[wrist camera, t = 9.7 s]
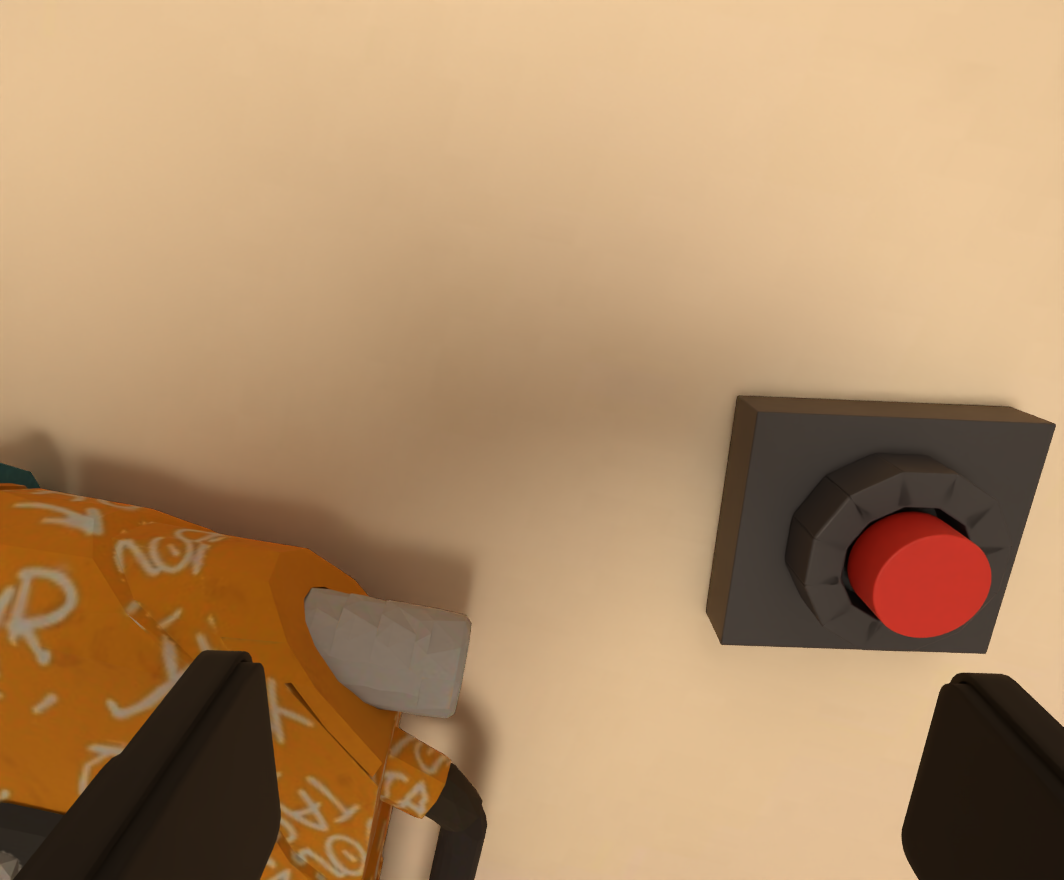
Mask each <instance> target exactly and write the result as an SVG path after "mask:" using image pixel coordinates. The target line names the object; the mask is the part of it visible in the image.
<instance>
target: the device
mask: <svg viewBox="0 0 1064 880" xmlns="http://www.w3.org/2000/svg"><path fill="white" fill-rule="evenodd" d="M471 624H472V623H471V622H470V620H469V619H468V617H467V616H466V615H464V614H459V613H455V612H451V611H446V610H442V609H438V608H432V607H426V606H421V605H415V604H410V603H404V602H398V601H392V600H387V601H385V600H381V599H377V598H373V597H369V596H368V595H367V594H366V593H365V591H364V590H363V589H362V588H361V587H360V586H359V584H358V583H357V582H356V581H355V580H354V579H353V578H351V577H350V576H348V575H347V574H345V573H344V572H342V571H341V570H339V569H338V568H336V567H335V566H333V565H332V564H330V563H329V562H327V561H326V560H324V559H323V558H321V557H320V556H318V555H317V554H315V553H314V552H312V551H311V550H309V549H308V548H302V547H296V546H290V545H284V544H277V543H271V542H265V541H259V540H253V539H247V538H241V537H235V536H230V535H224V534H218V533H216V532H214V531H213V530H210V529H207V528H205V527H202V526H199V525H196V524H193V523H190V522H188V521H185V520H182V519H179V518H176V517H173V516H171V515H168V514H165V513H162V512H159V511H157V510H154V509H151V508H145V507H140V506H134V505H128V504H123V503H117V502H112V501H106V500H101V499H95V498H90V497H84V496H79V495H73V494H68V493H62V492H57V491H51V490H46V489H41V488H40V486H39V484H38V483H37V481H36V479H35V478H34V476H33V474H32V473H31V472H30V471H26V470H23V469H19V468H16V467H13V466H9V465H6V464H3V463H0V880H13V879H14V877H15V876H16V875H17V874H18V872H19V871H20V870H21V869H22V867H23V866H24V865H25V864H26V862H27V861H28V860H29V859H30V857H31V856H32V855H33V854H34V852H35V851H36V850H37V849H38V847H39V846H40V845H41V844H42V842H43V841H44V840H45V839H46V837H47V836H48V835H49V834H50V832H51V831H52V830H53V829H54V827H55V826H56V825H57V824H58V822H59V821H60V820H61V819H62V817H63V816H64V815H65V814H66V812H67V811H68V810H69V809H70V807H71V806H72V805H73V804H74V802H75V801H76V800H77V799H78V797H79V796H80V795H81V794H82V792H83V791H84V790H85V789H86V787H87V786H88V785H89V784H90V782H91V781H92V780H93V779H94V777H95V776H96V775H97V774H98V772H99V771H100V770H101V769H102V768H103V766H104V765H105V764H106V763H107V762H108V761H109V760H110V759H111V758H113V757H115V756H116V755H118V754H120V753H121V752H122V751H123V750H124V748H125V747H126V746H127V745H128V743H129V742H130V741H131V739H132V738H133V737H134V736H135V734H136V733H137V732H138V731H139V729H140V728H141V727H142V725H143V724H144V723H145V722H146V720H147V719H148V718H149V717H150V715H151V714H152V713H153V711H154V710H155V709H156V708H157V706H158V705H159V704H160V703H161V701H162V700H163V699H164V697H165V696H166V695H167V694H168V692H169V691H170V690H171V689H172V687H173V686H174V685H175V683H176V682H177V681H178V680H179V678H180V677H181V676H182V675H183V673H184V672H185V671H186V669H187V668H188V667H189V666H190V664H191V663H192V662H193V661H194V659H195V658H196V657H197V656H198V655H199V654H200V653H201V652H202V651H205V650H224V651H246V652H248V653H249V654H250V655H251V657H252V661H253V662H254V663H261V664H262V665H263V667H264V672H265V680H266V688H267V697H268V706H269V714H270V723H271V731H272V740H273V748H274V757H275V765H276V774H277V782H278V791H279V799H280V808H281V821H280V828H279V833H278V837H277V840H276V843H275V845H274V848H273V850H272V852H271V855H270V857H269V860H268V862H267V864H266V867H265V869H264V871H263V874H262V876H261V878H260V880H379V879H380V874H381V869H382V863H383V857H382V851H383V847H384V843H385V838H386V834H387V830H388V826H389V822H390V817H391V813H392V809H393V806H394V807H396V808H398V809H400V810H402V811H404V812H406V813H408V814H410V815H412V816H414V817H417V818H421V819H422V818H423V817H424V816H427V817H429V818H430V819H432V820H434V821H435V822H436V823H437V824H439V825H440V826H441V828H440V832H439V837H438V841H437V846H436V851H435V855H434V860H433V864H432V869H431V874H430V878H429V880H474V878H475V874H476V870H477V866H478V862H479V858H480V854H481V850H482V846H483V842H484V838H485V833H486V829H487V821H486V815H485V812H484V810H483V807H482V799H481V798H480V796H479V794H478V792H477V791H476V789H475V788H474V787H473V786H472V784H471V783H470V782H469V781H468V780H467V778H466V777H465V776H464V775H463V774H462V773H461V771H460V770H459V769H458V768H457V767H456V765H454V764H453V763H451V759H449V758H448V757H447V756H445V755H444V754H443V753H441V752H439V751H437V750H435V749H434V748H432V747H430V746H428V745H426V744H425V743H423V742H421V741H419V740H418V739H416V738H414V737H413V736H411V735H409V734H408V733H406V732H405V731H403V730H401V729H400V728H399V724H400V718H401V713H402V712H405V713H409V714H413V715H420V716H430V717H440V718H448V717H450V716H451V715H453V714H455V710H456V706H457V702H458V697H459V693H460V689H461V684H462V679H463V673H464V668H465V662H466V657H467V651H468V646H469V640H470V632H471Z"/></svg>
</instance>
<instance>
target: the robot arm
mask: <svg viewBox="0 0 1064 880" xmlns="http://www.w3.org/2000/svg"><path fill="white" fill-rule="evenodd" d="M280 821H281V808H280V799H279V791H278V782H277V774H276V765H275V757H274V748H273V740H272V731H271V723H270V714H269V706H268V697H267V688H266V680H265V672H264V667H263V665H262V664H261V663H254V662H253V661H252V657H251V655H250V654H249V653H248V652H246V651H224V650H205V651H202V652H201V653H200V654H199V655H198V656H197V657H196V658H195V659H194V661H193V662H192V663H191V664H190V666H189V667H188V668H187V669H186V671H185V672H184V673H183V675H182V676H181V677H180V678H179V680H178V681H177V682H176V683H175V685H174V686H173V687H172V689H171V690H170V691H169V692H168V694H167V695H166V696H165V697H164V699H163V700H162V701H161V703H160V704H159V705H158V706H157V708H156V709H155V710H154V711H153V713H152V714H151V715H150V717H149V718H148V719H147V720H146V722H145V723H144V724H143V725H142V727H141V728H140V729H139V731H138V732H137V733H136V734H135V736H134V737H133V738H132V739H131V741H130V742H129V743H128V745H127V746H126V747H125V748H124V750H123V751H122V752H121V753H120V754H118V755H116V756H115V757H113V758H111V759H110V760H109V761H108V762H107V763H106V764H105V765H104V766H103V768H102V769H101V770H100V771H99V772H98V774H97V775H96V776H95V777H94V779H93V780H92V781H91V782H90V784H89V785H88V786H87V787H86V789H85V790H84V791H83V792H82V794H81V795H80V796H79V797H78V799H77V800H76V801H75V802H74V804H73V805H72V806H71V807H70V809H69V810H68V811H67V812H66V814H65V815H64V816H63V817H62V819H61V820H60V821H59V822H58V824H57V825H56V826H55V827H54V829H53V830H52V831H51V832H50V834H49V835H48V836H47V837H46V839H45V840H44V841H43V842H42V844H41V845H40V846H39V847H38V849H37V850H36V851H35V852H34V854H33V855H32V856H31V857H30V859H29V860H28V861H27V862H26V864H25V865H24V866H23V867H22V869H21V870H20V871H19V872H18V874H17V875H16V876H15V877H14V879H13V880H260V878H261V876H262V874H263V871H264V869H265V867H266V864H267V862H268V860H269V857H270V855H271V852H272V850H273V848H274V845H275V843H276V840H277V837H278V833H279V828H280ZM901 835H902V845H903V849H904V852H905V855H906V858H907V860H908V862H909V864H910V866H911V867H912V869H913V871H914V873H915V874H916V876H917V878H918V879H919V880H1064V727H1063V726H1062V725H1061V724H1060V723H1059V722H1058V721H1057V720H1055V719H1054V718H1053V717H1052V716H1051V715H1050V714H1049V713H1048V712H1047V711H1046V710H1045V709H1044V708H1043V707H1042V706H1041V705H1040V704H1039V703H1038V702H1037V701H1036V700H1035V699H1034V698H1032V697H1031V696H1030V695H1029V694H1028V693H1027V692H1026V691H1025V690H1024V689H1023V688H1022V687H1021V686H1020V685H1019V684H1018V683H1017V682H1016V681H1015V680H1013V679H1012V678H1010V677H1009V676H1007V675H1003V674H987V673H959V674H956V675H955V676H954V677H953V678H952V680H951V682H950V683H949V684H945V685H944V686H943V687H942V688H941V690H940V692H939V696H938V699H937V703H936V707H935V710H934V714H933V718H932V721H931V725H930V729H929V732H928V736H927V740H926V743H925V747H924V751H923V754H922V758H921V762H920V765H919V769H918V773H917V776H916V780H915V784H914V787H913V791H912V795H911V798H910V802H909V806H908V809H907V813H906V816H905V820H904V824H903V827H902V834H901Z"/></svg>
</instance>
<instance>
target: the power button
mask: <svg viewBox="0 0 1064 880" xmlns="http://www.w3.org/2000/svg"><path fill="white" fill-rule="evenodd" d="M847 572H848V578H849V581H850V584H851V586H852V588H853V590H854V591H855V593H856V594H857V595H858V596H859V597H860V598H861V600H862V601H863V602H864V603H865V604H866V605H867V606H868V607H869V608H870V610H871V611H872V612H873V613H874V614H875V615H876V616H877V617H878V619H879V620H880V621H881V622H882V623H883V624H884V625H885V626H886V627H888V628H889V629H890V630H892V631H894V632H896V633H898V634H901V635H904V636H908V637H914V638H928V637H935V636H939V635H943V634H945V633H948V632H950V631H953V630H955V629H957V628H958V627H960V626H962V625H963V624H964V623H966V622H967V621H969V620H970V619H971V618H972V617H973V616H974V615H975V614H976V613H977V612H978V610H979V609H980V608H981V606H982V605H983V603H984V602H985V600H986V598H987V596H988V593H989V590H990V586H991V577H992V576H991V568H990V564H989V562H988V559H987V557H986V555H985V554H984V552H983V551H982V550H981V549H980V548H979V547H978V546H977V545H976V544H975V543H973V542H972V541H970V540H969V539H968V538H966V537H965V536H963V535H962V534H961V533H959V532H958V531H956V530H955V529H954V528H952V527H951V526H949V525H948V524H947V523H945V522H944V521H942V520H941V519H939V518H937V517H936V516H933V515H931V514H928V513H923V512H915V511H911V512H900V513H896V514H892V515H889V516H887V517H884V518H882V519H880V520H878V521H877V522H875V523H874V524H872V525H871V526H870V527H868V528H867V529H866V530H865V531H864V532H863V533H862V534H861V535H860V536H859V538H858V539H857V540H856V542H855V544H854V545H853V547H852V549H851V552H850V555H849V558H848V565H847Z"/></svg>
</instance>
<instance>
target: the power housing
mask: <svg viewBox="0 0 1064 880" xmlns="http://www.w3.org/2000/svg"><path fill="white" fill-rule="evenodd" d="M1055 427H1056V424H1054V423H1052V422H1049V421H1046V420H1044V419H1041V418H1038V417H1036V416H1033V415H1030V414H1028V413H1025V412H1022V411H1020V410H1017V409H1014V408H1012V407H1000V406H976V405H952V404H928V403H904V402H880V401H856V400H832V399H808V398H784V397H760V396H738V397H737V403H736V410H735V417H734V424H733V431H732V438H731V444H730V451H729V458H728V465H727V472H726V479H725V486H724V492H723V499H722V506H721V513H720V520H719V527H718V533H717V540H716V547H715V554H714V561H713V568H712V575H711V581H710V588H709V595H708V602H707V609H706V613H707V615H708V617H709V619H710V622H711V624H712V626H713V628H714V630H715V632H716V635H717V637H718V639H719V641H720V643H721V644H722V645H744V646H773V647H802V648H832V649H861V650H882V651H920V652H949V653H978V654H985V653H986V652H987V649H988V645H989V642H990V639H991V636H992V632H993V629H994V626H995V623H996V619H997V616H998V613H999V610H1000V606H1001V603H1002V600H1003V596H1004V593H1005V590H1006V587H1007V583H1008V580H1009V577H1010V574H1011V570H1012V567H1013V564H1014V561H1015V557H1016V554H1017V551H1018V547H1019V544H1020V541H1021V538H1022V534H1023V531H1024V528H1025V525H1026V521H1027V518H1028V515H1029V512H1030V508H1031V505H1032V502H1033V498H1034V495H1035V492H1036V489H1037V485H1038V482H1039V479H1040V476H1041V472H1042V469H1043V466H1044V463H1045V459H1046V456H1047V453H1048V449H1049V446H1050V443H1051V440H1052V436H1053V433H1054V430H1055ZM911 511H915V512H923V513H928V514H931V515H933V516H936V517H937V518H939V519H941V520H942V521H944V522H945V523H947V524H948V525H949V526H951V527H952V528H954V529H955V530H956V531H958V532H959V533H961V534H962V535H963V536H965V537H966V538H968V539H969V540H970V541H972V542H973V543H975V544H976V545H977V546H978V547H979V548H980V549H981V550H982V551H983V552H984V554H985V555H986V557H987V559H988V562H989V564H990V568H991V576H992V577H991V586H990V590H989V593H988V596H987V598H986V600H985V602H984V603H983V605H982V606H981V608H980V609H979V610H978V612H977V613H976V614H975V615H974V616H973V617H972V618H971V619H970V620H969V621H967V622H966V623H964V624H963V625H962V626H960V627H958V628H957V629H955V630H953V631H950V632H948V633H945V634H943V635H939V636H935V637H928V638H914V637H908V636H904V635H901V634H898V633H896V632H894V631H892V630H890V629H889V628H888V627H886V626H885V625H884V624H883V623H882V622H881V621H880V620H879V619H878V617H877V616H876V615H875V614H874V613H873V612H872V611H871V610H870V608H869V607H868V606H867V605H866V604H865V603H864V602H863V601H862V600H861V598H860V597H859V596H858V595H857V594H856V593H855V591H854V590H853V588H852V586H851V584H850V581H849V578H848V572H847V565H848V558H849V555H850V552H851V549H852V547H853V545H854V544H855V542H856V540H857V539H858V538H859V536H860V535H861V534H862V533H863V532H864V531H865V530H866V529H867V528H868V527H870V526H871V525H872V524H874V523H875V522H877V521H878V520H880V519H882V518H884V517H887V516H889V515H892V514H896V513H900V512H911Z"/></svg>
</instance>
